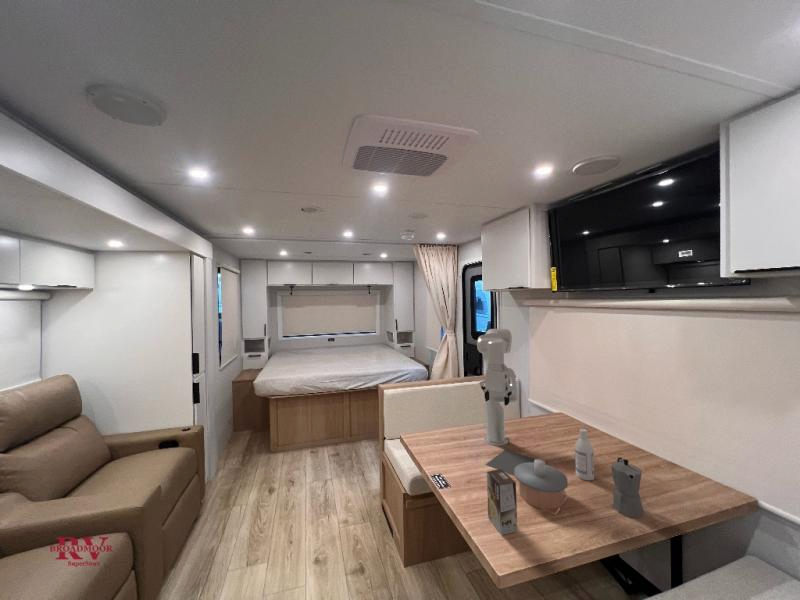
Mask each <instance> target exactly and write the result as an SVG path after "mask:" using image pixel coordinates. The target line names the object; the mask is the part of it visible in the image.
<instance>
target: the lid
mask: <svg viewBox="0 0 800 600" xmlns="http://www.w3.org/2000/svg"><path fill="white" fill-rule="evenodd" d="M535 459H536V458H535ZM545 462H546V461H544V459H543V460H542V459H536V460H534V463H522V464H519V465H517V466H516V467H515V470H514V474H515V476H514V477H515V478H516V480H517V482H518V481H519V482H520V483H522V484H523V485H525V486H527V487H529V488H532V489H534V490H538V491H543V492H559V491H562V490H564V491H565V489H567V488H568V484H569V483H568V482H569V481H568V477H567V476H566V474H564V473H563V472H562V471H561V470H559V469H558V468H555V467H553V466H552V465H548V464H547V465H545Z"/></svg>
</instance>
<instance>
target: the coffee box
mask: <svg viewBox="0 0 800 600" xmlns="http://www.w3.org/2000/svg"><path fill="white" fill-rule="evenodd" d="M486 483H487V484H486V487H487V488H486V491H487V492H486V493H487V518H488V519H489V521H490V522H491V523H492V525H493V526H494V527H495V529H496V530H497V531H498V532H499V534H500V535H501V536H502V535H507V534H513V533H517V532H518V514H517V513H518V511H517V509H518V508H517V507H518V506H517V482H516V481H515V480H514V479H513V478H512V477H511V475H510V476H509V474H508V473H506V472H504V471H503V470H502V469H499V470H498V469H492V470H490V471H486Z"/></svg>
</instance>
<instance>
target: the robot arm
mask: <svg viewBox="0 0 800 600" xmlns="http://www.w3.org/2000/svg"><path fill="white" fill-rule="evenodd" d="M512 340H513V335H512V333H511V331H510V330H509V329H508V328H490V329H487V331H486V332H485V333H484V334H482V335H479V336H478V338H477V340H476V341H477V342H476V346H477V347H476V349H477V351H478V352H479V353H481V354H482V357H483V359H484V362H485V378H484V379H485V380H482V381H480V382H479V383H478V384H479V386H480V388H481V390H482V391H483V393H484V399H485V400H484V401H485V410H486V411H485V413H486V414H485V415H486V416H485V417H486V435H485V436H484V437H483V440H484V443H487V444H488V445H491V446H496V447H503V446H507V445H508V443H509V440H508V438H506V434H507V433H508V431H507V429H505V428H506V427H505V410H504V407H503V406H502V404H501V403H503V404H504V406H508V405H510V403H515V402H516V401H517V400H518V397H519V396H518V387H517V378H516V374H515V371H514V369H513V368H511V367H508V366H507V365H506V364H505V354H509V353H510V352H511V349H512Z"/></svg>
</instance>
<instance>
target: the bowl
mask: <svg viewBox="0 0 800 600" xmlns="http://www.w3.org/2000/svg"><path fill="white" fill-rule="evenodd" d="M517 482H518V493H519V496H520V498H522V499H523V500H524V502H525V503H527V504H529V505H531V506H533V507H535V508H538V509H541V510H542V509H543V510H545V509H550V510H552V509H560V508H561V509H562V507H563V506H564V504H565V503H566V499H565V497H566V496H565V489H564V490H562V491H559V492H543V491H538V490H534V489H532V488H529V487H527V486H525V485H523V484H522V483H520V482H519V481H518V480H517Z"/></svg>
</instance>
